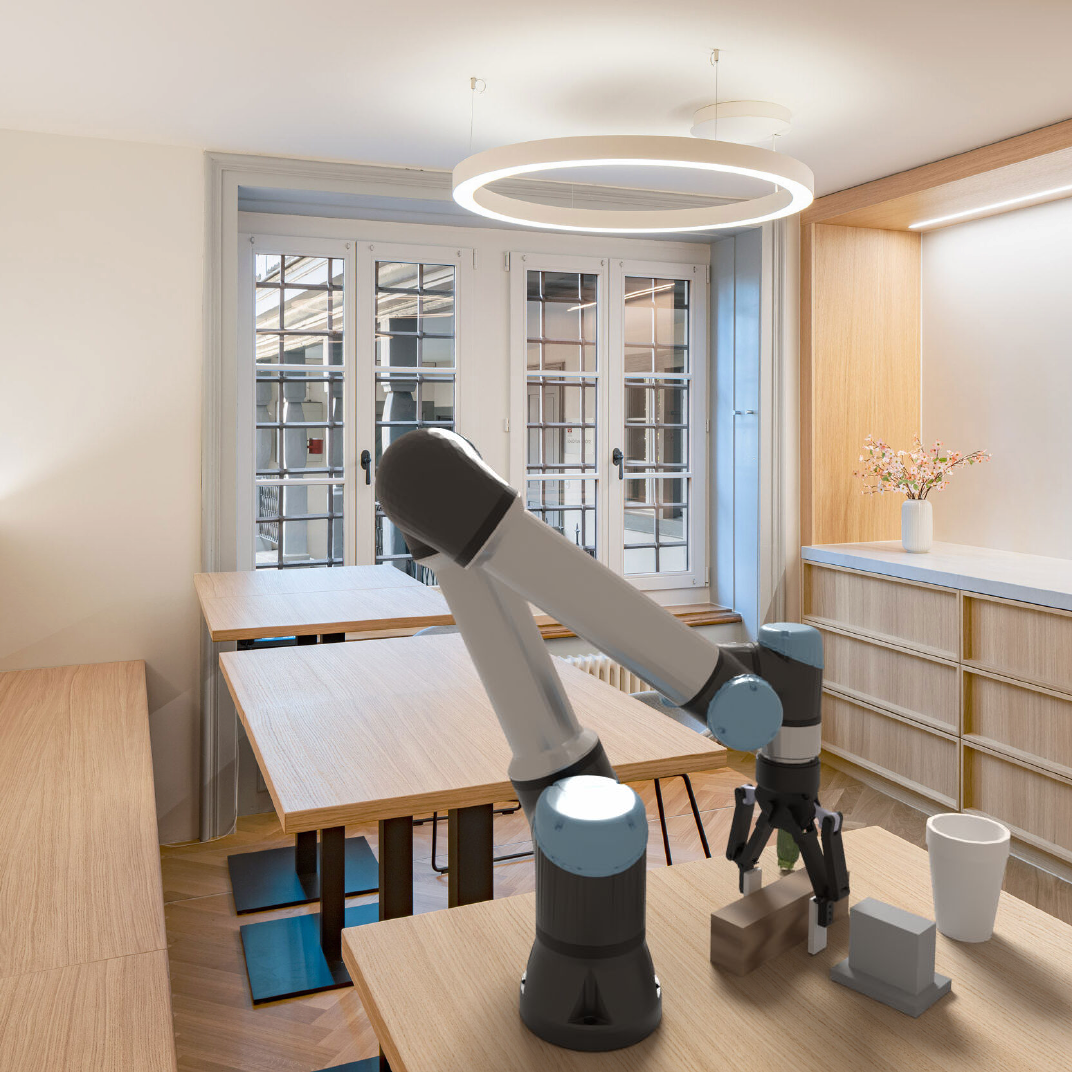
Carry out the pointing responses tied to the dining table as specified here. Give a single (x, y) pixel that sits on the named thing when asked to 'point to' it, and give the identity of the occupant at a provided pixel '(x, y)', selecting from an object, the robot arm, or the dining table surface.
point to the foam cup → (966, 873)
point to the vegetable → (786, 850)
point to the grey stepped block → (892, 958)
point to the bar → (765, 923)
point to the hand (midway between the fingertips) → (783, 934)
